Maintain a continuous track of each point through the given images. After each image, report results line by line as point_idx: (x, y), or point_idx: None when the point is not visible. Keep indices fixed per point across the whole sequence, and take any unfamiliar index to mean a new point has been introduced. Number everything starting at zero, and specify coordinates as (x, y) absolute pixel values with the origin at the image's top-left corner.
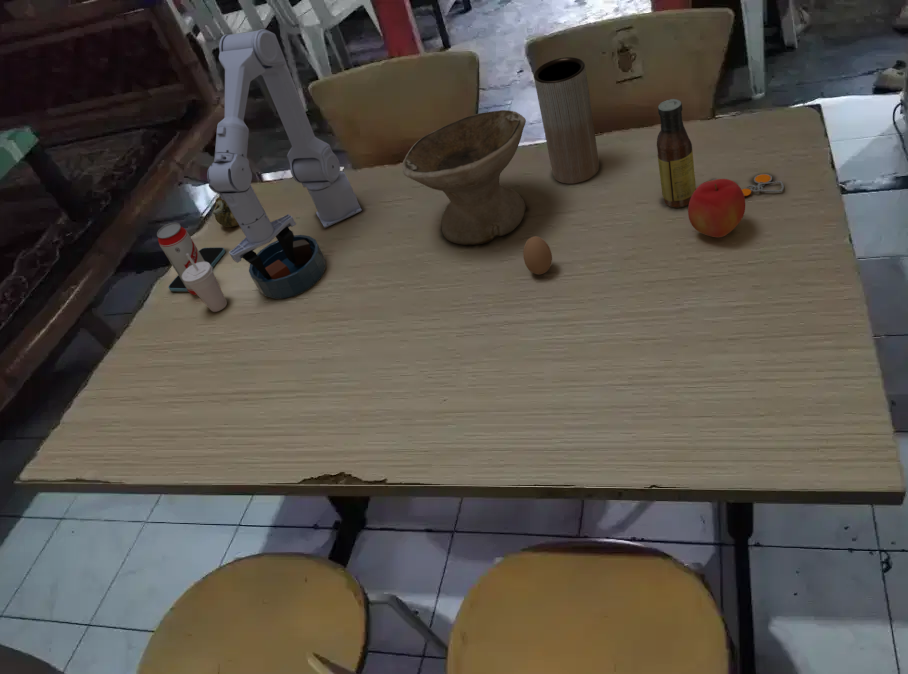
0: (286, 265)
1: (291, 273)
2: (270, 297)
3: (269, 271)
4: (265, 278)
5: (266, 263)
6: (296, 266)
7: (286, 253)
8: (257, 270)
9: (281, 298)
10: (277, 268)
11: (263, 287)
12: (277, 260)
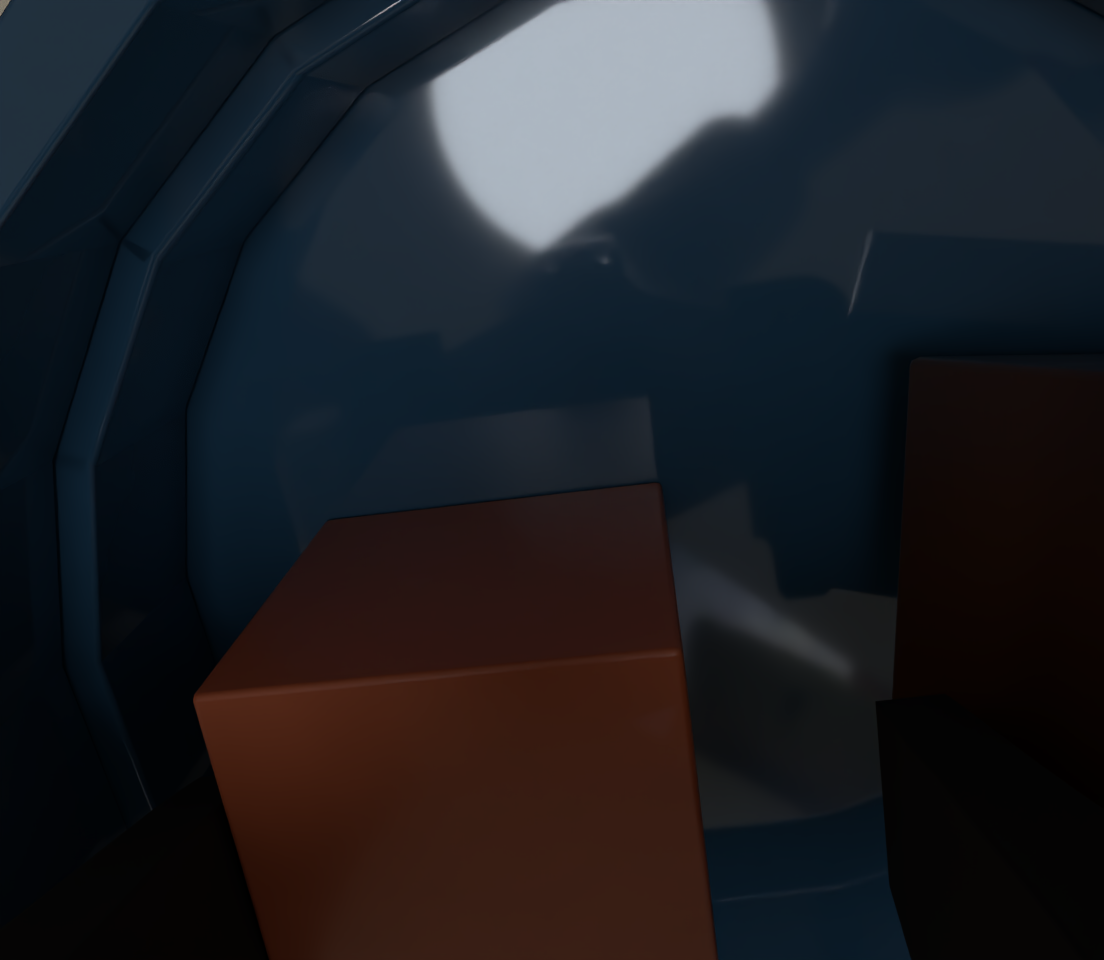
0: (779, 215)
1: (737, 554)
2: None
3: (321, 897)
4: (282, 257)
5: (414, 11)
6: None
7: (965, 915)
8: (120, 238)
9: None
10: (517, 952)
11: None
12: (642, 679)
